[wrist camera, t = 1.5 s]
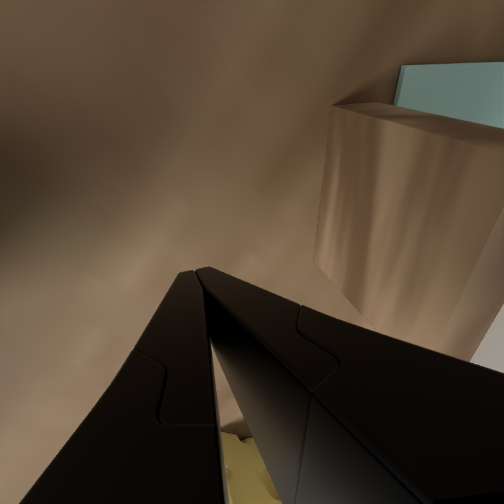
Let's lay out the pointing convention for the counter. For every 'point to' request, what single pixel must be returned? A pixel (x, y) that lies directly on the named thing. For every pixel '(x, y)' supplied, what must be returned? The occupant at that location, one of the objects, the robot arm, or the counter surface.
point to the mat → (454, 91)
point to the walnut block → (414, 223)
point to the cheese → (247, 473)
